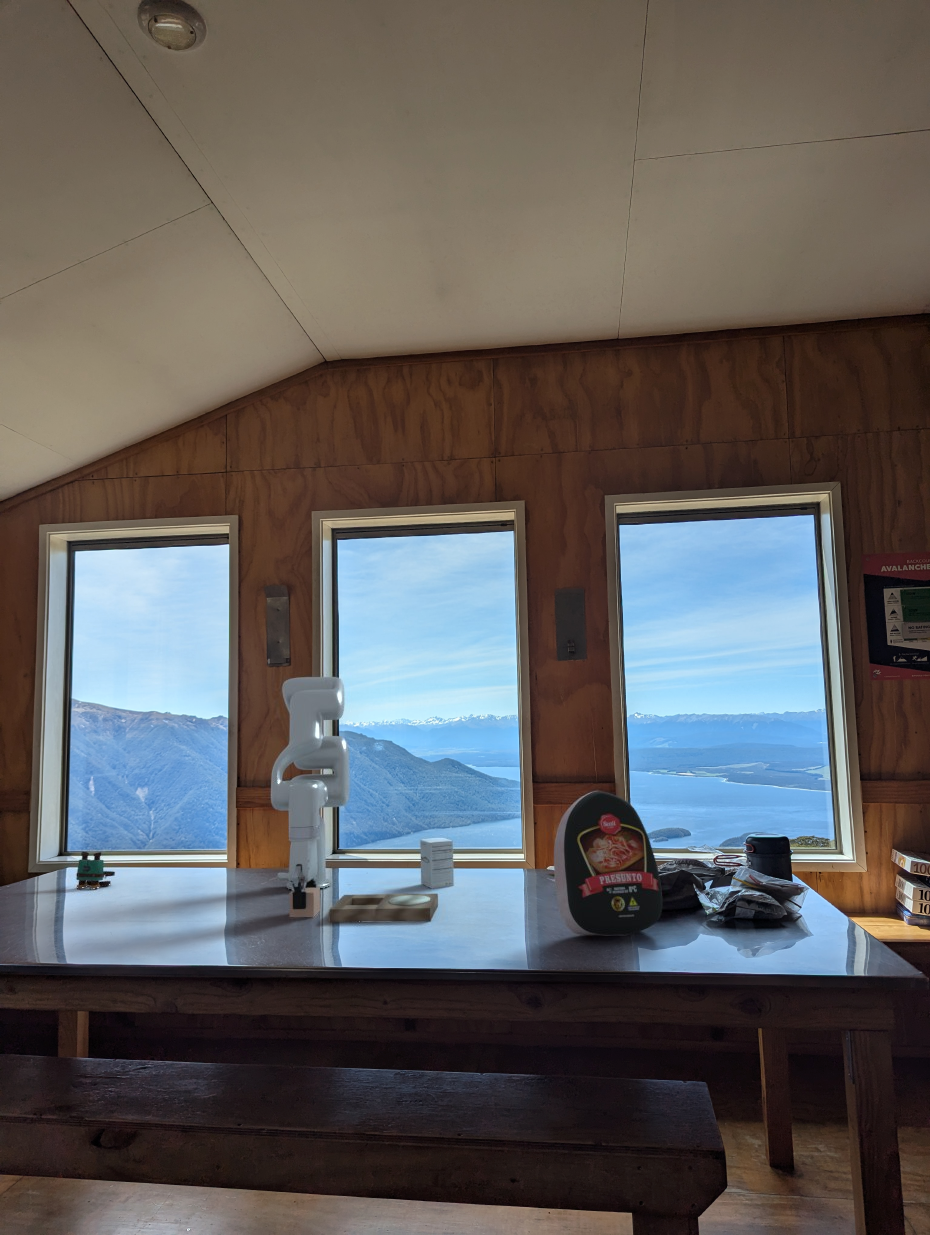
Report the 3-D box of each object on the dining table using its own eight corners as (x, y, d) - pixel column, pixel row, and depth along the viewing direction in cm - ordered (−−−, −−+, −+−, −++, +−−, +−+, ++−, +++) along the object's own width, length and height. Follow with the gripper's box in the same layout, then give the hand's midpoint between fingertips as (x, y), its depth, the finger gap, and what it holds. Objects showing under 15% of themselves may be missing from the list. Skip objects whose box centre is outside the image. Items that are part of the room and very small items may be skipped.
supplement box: (420, 884, 242) (419, 839, 243) (444, 881, 245) (443, 836, 246) (430, 888, 235) (429, 842, 237) (454, 885, 238) (453, 839, 240)
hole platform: (329, 922, 200) (329, 908, 200) (344, 906, 216) (344, 893, 216) (430, 921, 198) (430, 906, 199) (438, 905, 214) (437, 892, 215)
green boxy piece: (121, 850, 258) (98, 852, 248) (118, 887, 256) (94, 890, 246) (96, 850, 260) (73, 852, 251) (93, 886, 258) (69, 889, 249)
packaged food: (579, 951, 170) (572, 798, 174) (544, 928, 189) (539, 791, 192) (676, 940, 176) (668, 793, 179) (633, 919, 195) (627, 786, 198)
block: (289, 918, 206) (289, 893, 207) (296, 912, 212) (296, 887, 212) (313, 918, 205) (313, 892, 206) (320, 912, 211) (319, 887, 212)
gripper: (298, 829, 219) (299, 897, 217) (279, 838, 202) (279, 912, 200) (327, 828, 219) (328, 897, 217) (310, 837, 202) (310, 912, 200)
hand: (304, 904), depth 208 cm, fingers open, 9 cm apart
